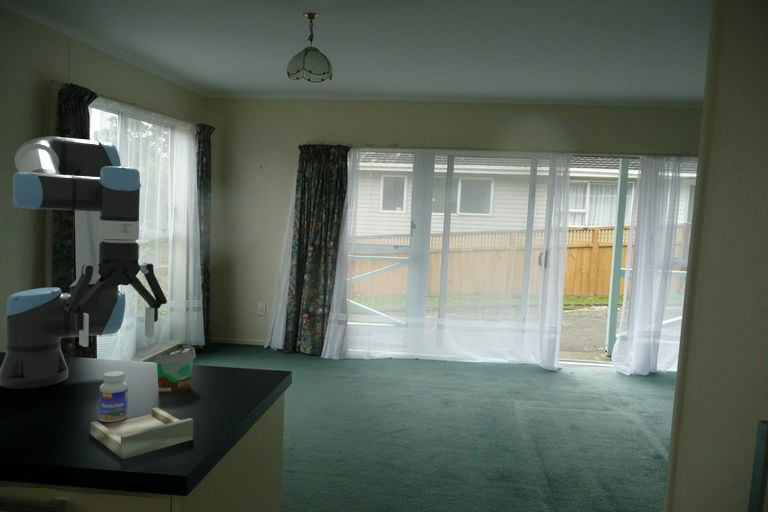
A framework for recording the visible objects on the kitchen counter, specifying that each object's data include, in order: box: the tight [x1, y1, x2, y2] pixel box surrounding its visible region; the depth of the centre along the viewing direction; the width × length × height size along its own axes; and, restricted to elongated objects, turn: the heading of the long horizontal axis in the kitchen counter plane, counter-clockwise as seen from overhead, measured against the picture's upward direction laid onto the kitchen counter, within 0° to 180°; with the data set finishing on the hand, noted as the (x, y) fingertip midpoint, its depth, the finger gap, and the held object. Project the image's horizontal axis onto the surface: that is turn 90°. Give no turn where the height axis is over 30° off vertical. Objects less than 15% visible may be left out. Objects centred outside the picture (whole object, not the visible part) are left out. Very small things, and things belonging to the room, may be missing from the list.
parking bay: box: [90, 407, 194, 460], centre depth 108 cm, size 15×13×4 cm
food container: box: [155, 344, 197, 395], centre depth 137 cm, size 12×6×10 cm, turn 168°
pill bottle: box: [98, 370, 129, 423], centre depth 117 cm, size 5×5×10 cm
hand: (117, 341), depth 116 cm, fingers open, 13 cm apart
